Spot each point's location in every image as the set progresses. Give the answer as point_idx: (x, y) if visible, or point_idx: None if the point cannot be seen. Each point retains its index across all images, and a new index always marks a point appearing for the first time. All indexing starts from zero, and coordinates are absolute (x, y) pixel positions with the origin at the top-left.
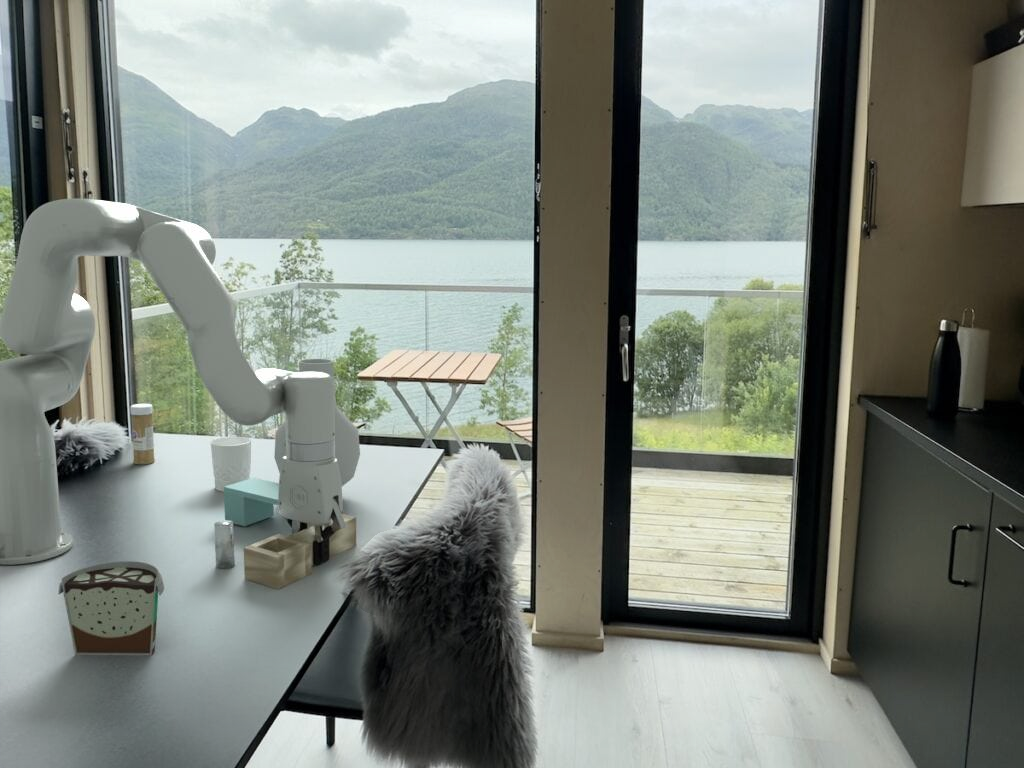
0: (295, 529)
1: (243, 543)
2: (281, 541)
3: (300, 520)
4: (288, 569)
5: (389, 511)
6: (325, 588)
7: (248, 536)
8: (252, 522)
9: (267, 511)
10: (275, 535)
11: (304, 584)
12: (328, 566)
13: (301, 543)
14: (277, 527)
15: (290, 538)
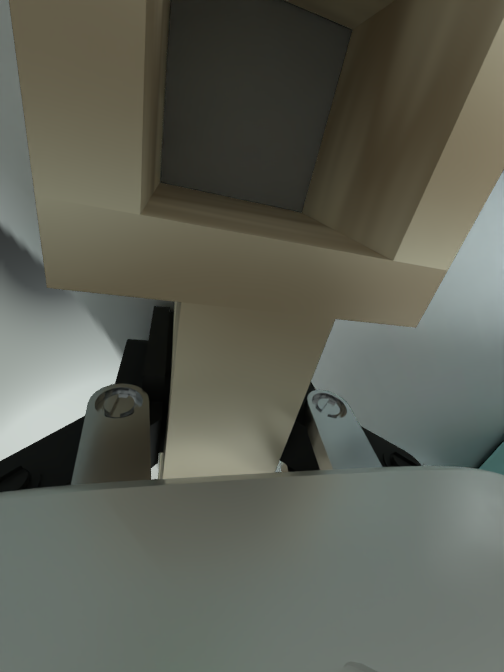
0: (330, 421)
1: (499, 351)
2: (346, 246)
3: (274, 484)
4: None
5: None
6: None
7: (493, 393)
8: (500, 449)
9: None
10: (425, 297)
11: (11, 35)
12: (104, 325)
13: (120, 235)
14: (430, 460)
15: (291, 296)
